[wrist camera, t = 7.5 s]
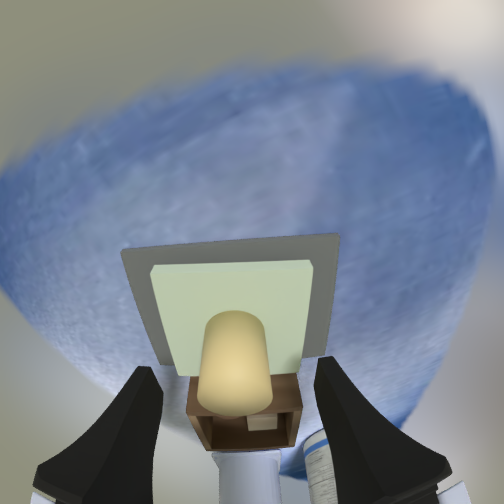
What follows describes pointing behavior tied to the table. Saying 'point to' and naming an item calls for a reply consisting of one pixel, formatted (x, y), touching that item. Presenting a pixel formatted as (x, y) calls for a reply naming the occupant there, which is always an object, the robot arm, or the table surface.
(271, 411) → the box
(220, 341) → the lid
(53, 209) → the table surface
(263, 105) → the table surface
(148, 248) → the mat
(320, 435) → the supplement tub
